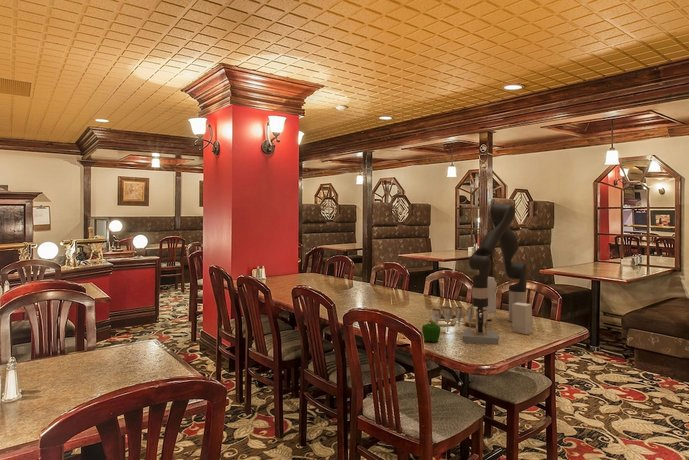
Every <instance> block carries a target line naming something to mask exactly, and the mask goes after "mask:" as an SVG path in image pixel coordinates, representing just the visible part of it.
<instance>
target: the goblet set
mask: <svg viewBox="0 0 689 460" xmlns="http://www.w3.org/2000/svg"><path fill="white" fill-rule="evenodd" d="M440 309H441V308H440ZM440 309H438V308H433V309H432V310H431V315H432V316H431V318H433V319H434V320H435V322H436V325H437V323H438V321H439V319H441V318H442V317H441V310H443V316H444V318H443V319H446V321H447V326H446V327H447V328H446V329H447V332H448V331H449V326H448V323H449V320H452V318H451V317H452V315H453V311H455V314H456V315H455V317H456V319H457V320H456V321H457V323H458V326H461V325H460V324H461V320H462V317H463V311H464V310H463V307H461V306H457V307H455V310H453V307H451V306H444V307H442V309H441V310H440ZM474 310H475V309H474V307H467V308H466V315H467V316H468V319H469V322H470V326H469V330H472V328H471V327H472V326H471V321H472V318H473V316H474V315H475V311H474ZM483 310H484V309H483ZM484 312H485V320H486V319H487V317H489V316H488V315H489V313H487V311H486V310H484ZM456 332H457V333H463V332H462V331H456ZM485 335H486V332H485Z"/></svg>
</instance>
